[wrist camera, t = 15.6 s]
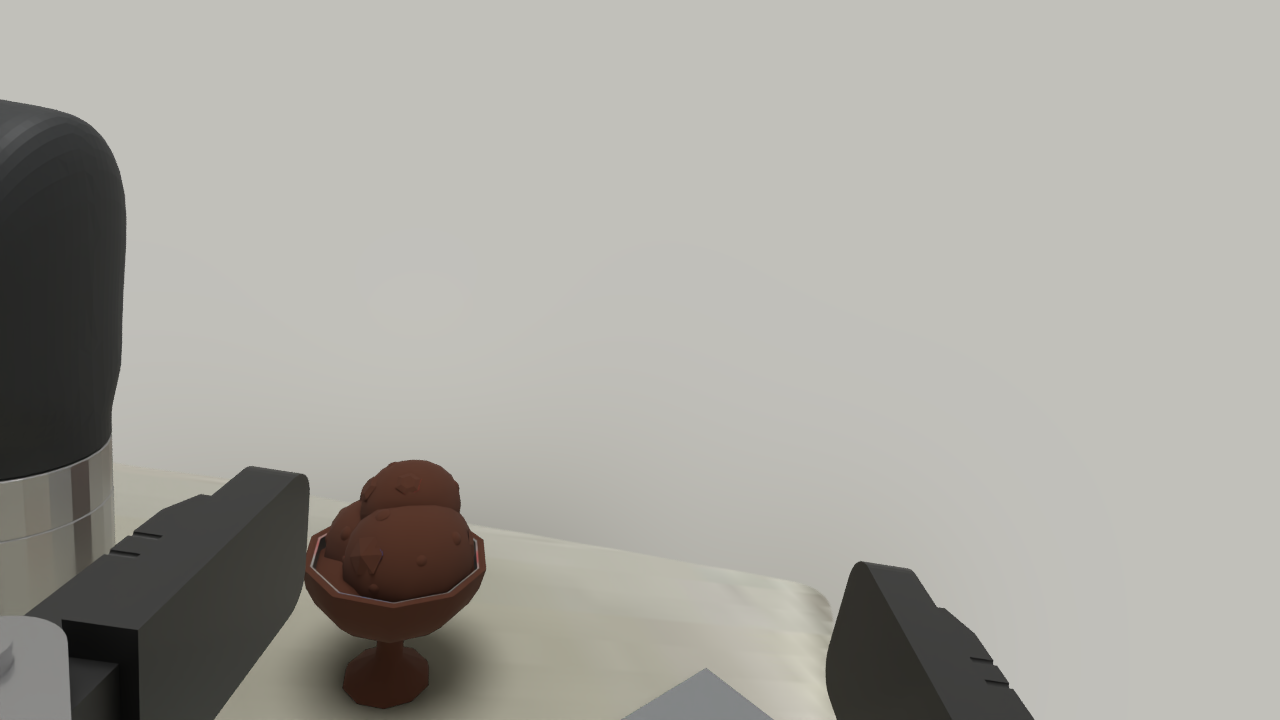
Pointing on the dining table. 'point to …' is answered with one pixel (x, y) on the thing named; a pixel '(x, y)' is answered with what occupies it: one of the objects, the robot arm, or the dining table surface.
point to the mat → (700, 702)
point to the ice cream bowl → (395, 575)
